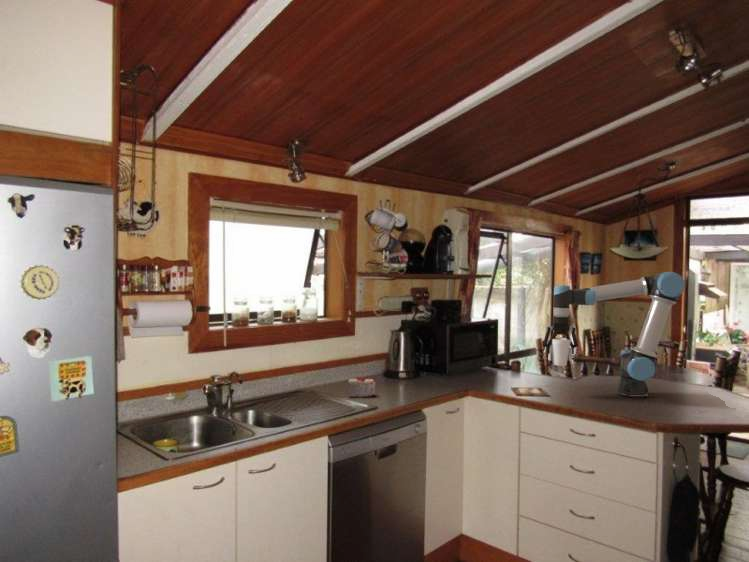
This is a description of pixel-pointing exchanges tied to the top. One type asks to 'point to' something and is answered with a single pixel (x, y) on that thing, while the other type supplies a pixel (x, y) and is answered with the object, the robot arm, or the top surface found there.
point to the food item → (360, 387)
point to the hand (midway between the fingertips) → (559, 360)
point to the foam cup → (560, 351)
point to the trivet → (529, 392)
